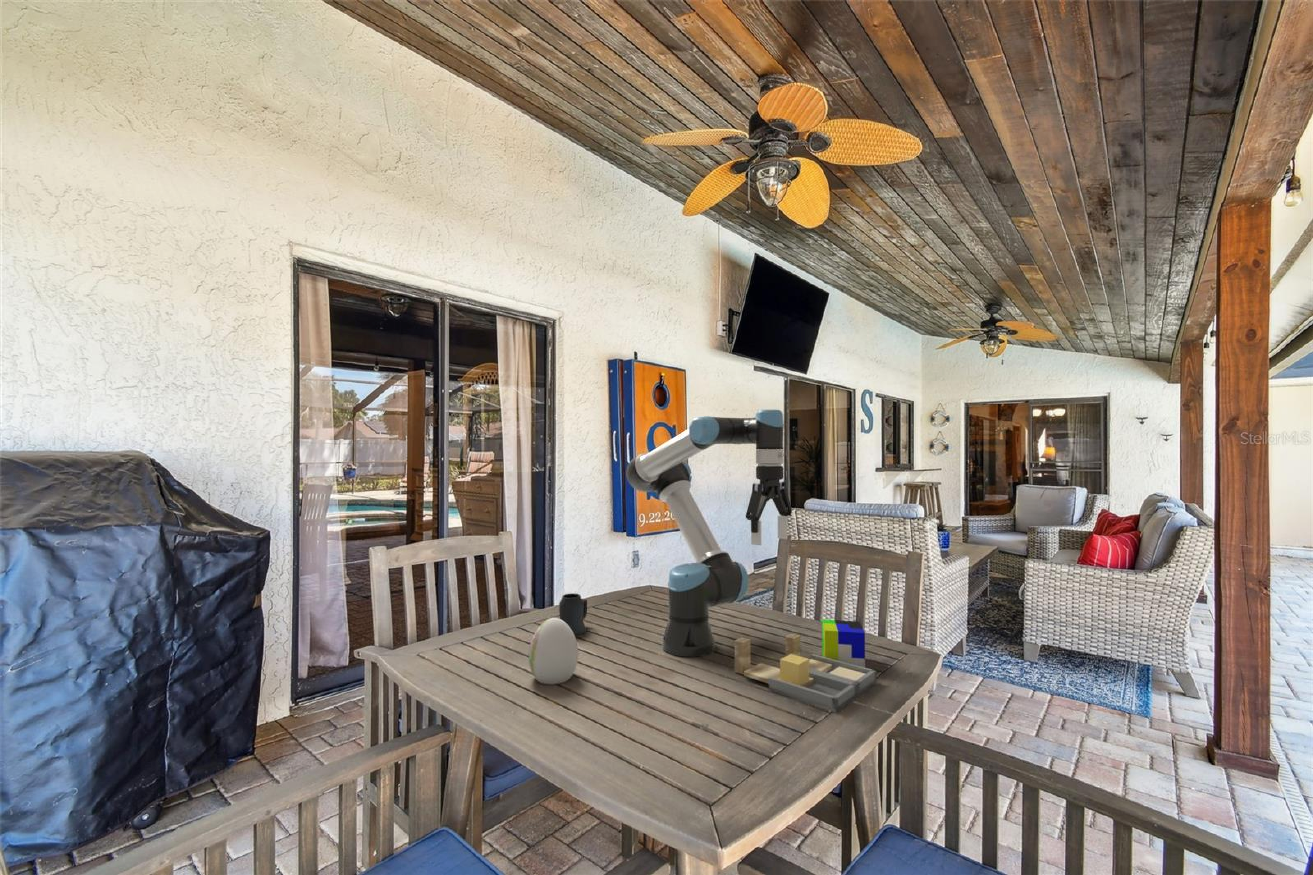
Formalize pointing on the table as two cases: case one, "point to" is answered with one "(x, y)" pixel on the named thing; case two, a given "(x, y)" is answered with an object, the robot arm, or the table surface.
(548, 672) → the decorative egg
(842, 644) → the puzzle toy
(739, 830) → the table surface
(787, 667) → the cube
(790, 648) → the strip
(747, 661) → the strip
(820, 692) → the board
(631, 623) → the table surface
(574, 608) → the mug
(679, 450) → the robot arm
